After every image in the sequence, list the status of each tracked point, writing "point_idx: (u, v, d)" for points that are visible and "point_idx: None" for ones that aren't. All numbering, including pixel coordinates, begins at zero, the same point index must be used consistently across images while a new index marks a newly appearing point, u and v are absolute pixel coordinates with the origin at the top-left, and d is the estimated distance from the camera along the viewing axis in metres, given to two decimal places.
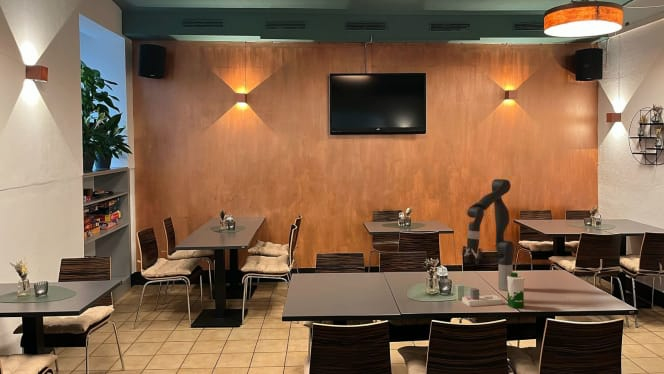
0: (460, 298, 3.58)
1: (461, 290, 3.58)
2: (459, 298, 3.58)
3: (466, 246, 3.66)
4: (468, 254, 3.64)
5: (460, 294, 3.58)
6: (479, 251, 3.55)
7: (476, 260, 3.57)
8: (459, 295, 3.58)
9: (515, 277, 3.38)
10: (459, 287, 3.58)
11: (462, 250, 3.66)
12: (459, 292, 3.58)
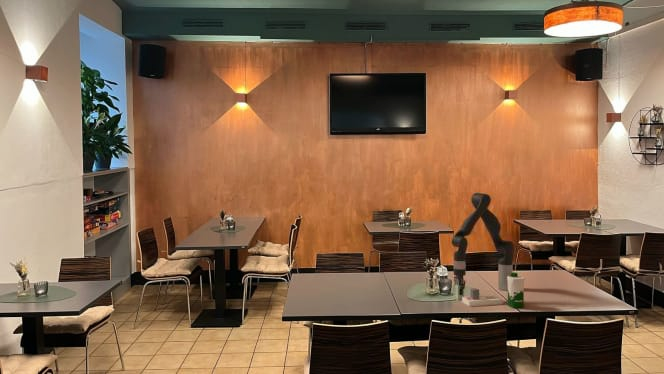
0: (460, 298, 3.58)
1: None
2: (459, 298, 3.58)
3: None
4: None
5: None
6: (461, 283, 3.54)
7: (459, 291, 3.57)
8: (459, 295, 3.58)
9: (515, 277, 3.38)
10: None
11: (454, 281, 3.65)
12: None
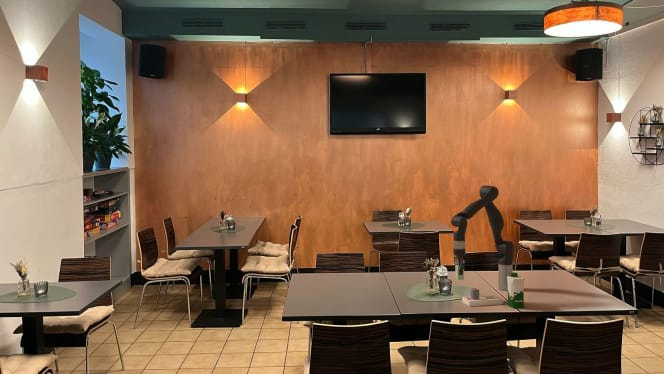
0: (460, 278, 3.58)
1: None
2: (459, 278, 3.57)
3: None
4: None
5: None
6: (461, 263, 3.53)
7: (459, 271, 3.57)
8: (459, 275, 3.57)
9: (515, 277, 3.38)
10: None
11: (454, 261, 3.65)
12: None
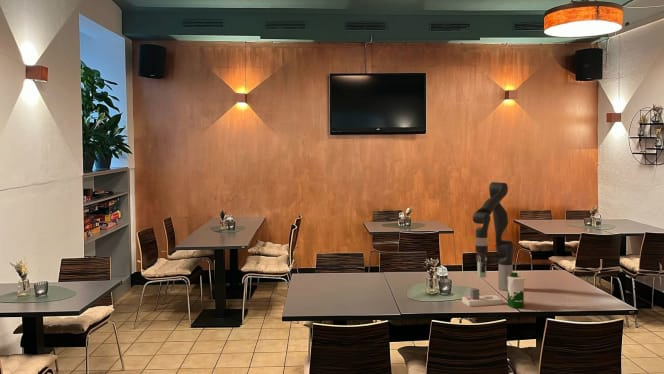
0: (482, 275, 3.51)
1: None
2: (481, 275, 3.51)
3: None
4: None
5: None
6: (483, 260, 3.46)
7: (482, 268, 3.50)
8: (481, 272, 3.50)
9: (515, 277, 3.38)
10: None
11: (476, 258, 3.58)
12: None
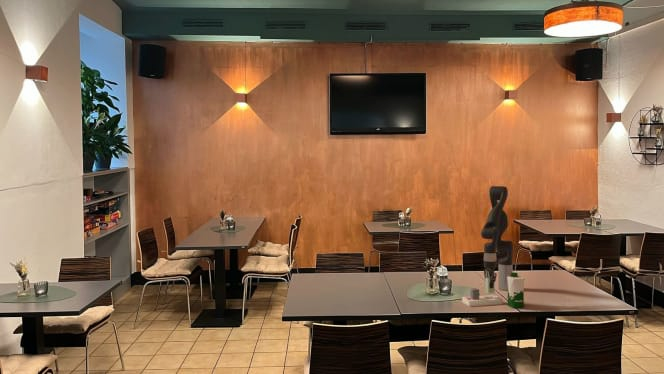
0: (490, 291, 3.48)
1: None
2: (489, 291, 3.48)
3: None
4: None
5: None
6: (492, 276, 3.44)
7: (490, 284, 3.47)
8: (489, 288, 3.48)
9: (515, 277, 3.38)
10: (489, 280, 3.48)
11: (484, 274, 3.55)
12: (489, 285, 3.48)
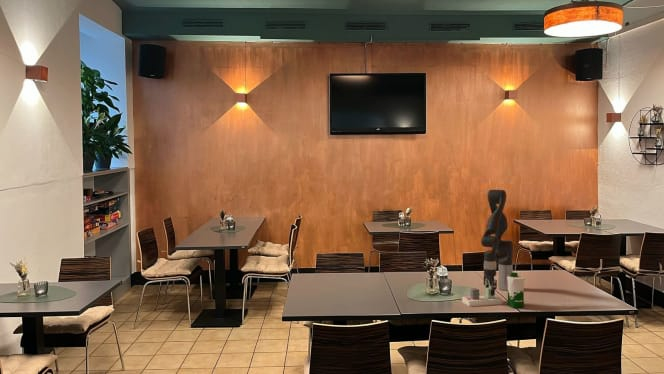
0: None
1: None
2: None
3: None
4: (489, 284, 3.53)
5: (490, 297, 3.49)
6: (492, 283, 3.43)
7: (491, 291, 3.46)
8: (489, 298, 3.49)
9: (515, 277, 3.38)
10: (489, 290, 3.48)
11: None
12: (489, 295, 3.49)
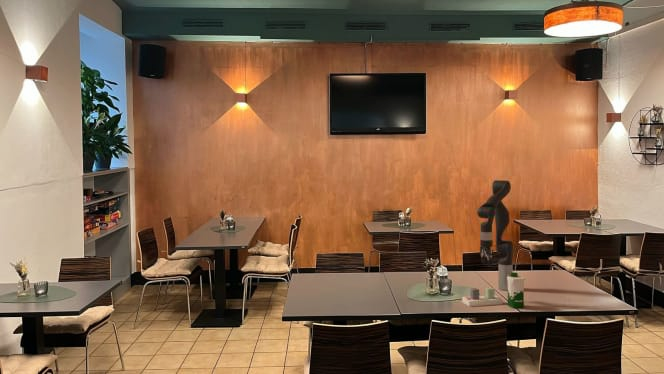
0: None
1: (492, 294, 3.49)
2: None
3: None
4: (485, 255, 3.57)
5: (490, 297, 3.49)
6: (489, 253, 3.47)
7: (488, 262, 3.49)
8: (489, 298, 3.49)
9: (515, 277, 3.38)
10: (489, 290, 3.48)
11: None
12: (489, 295, 3.49)
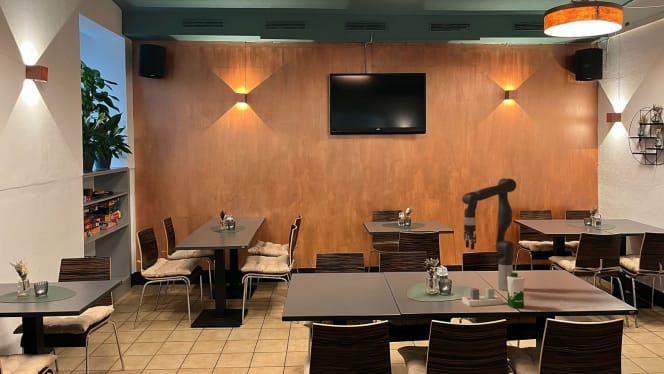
0: None
1: (492, 294, 3.49)
2: None
3: None
4: (468, 239, 3.75)
5: (490, 297, 3.49)
6: (472, 237, 3.65)
7: (471, 245, 3.67)
8: (489, 298, 3.49)
9: (515, 277, 3.38)
10: (489, 290, 3.48)
11: (464, 235, 3.79)
12: (489, 295, 3.49)
